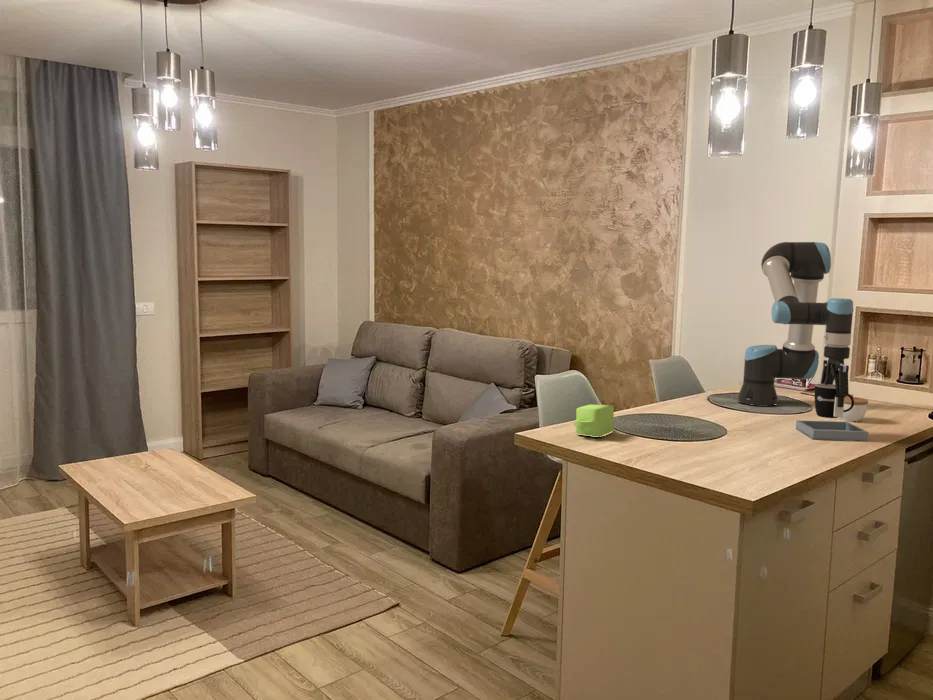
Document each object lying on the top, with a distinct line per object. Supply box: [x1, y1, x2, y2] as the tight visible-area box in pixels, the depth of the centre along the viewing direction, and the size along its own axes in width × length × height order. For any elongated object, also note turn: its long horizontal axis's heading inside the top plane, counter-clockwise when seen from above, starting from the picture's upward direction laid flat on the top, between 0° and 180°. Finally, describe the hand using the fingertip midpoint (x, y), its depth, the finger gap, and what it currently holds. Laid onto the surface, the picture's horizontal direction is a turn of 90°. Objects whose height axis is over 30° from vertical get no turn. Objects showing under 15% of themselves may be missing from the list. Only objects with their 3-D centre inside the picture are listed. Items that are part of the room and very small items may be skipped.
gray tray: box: [795, 419, 869, 442], centre depth 248 cm, size 15×17×3 cm
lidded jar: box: [839, 393, 869, 423], centre depth 271 cm, size 11×11×9 cm
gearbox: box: [573, 403, 615, 437], centre depth 244 cm, size 18×10×10 cm, turn 145°
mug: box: [814, 383, 854, 419], centre depth 245 cm, size 12×9×10 cm
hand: (832, 413), depth 247 cm, fingers closed on mug, 9 cm apart
